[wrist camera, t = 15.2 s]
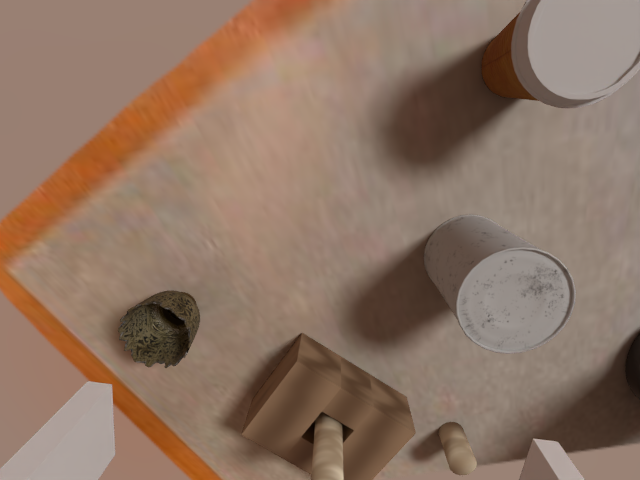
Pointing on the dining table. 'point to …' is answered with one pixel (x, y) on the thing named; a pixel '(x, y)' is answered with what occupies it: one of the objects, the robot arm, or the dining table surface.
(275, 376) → the hole block
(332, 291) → the dining table surface
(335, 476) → the long pin
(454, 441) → the short pin
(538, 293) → the speckled white tub
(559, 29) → the disposable coffee cup
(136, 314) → the olive hollow patterned container
